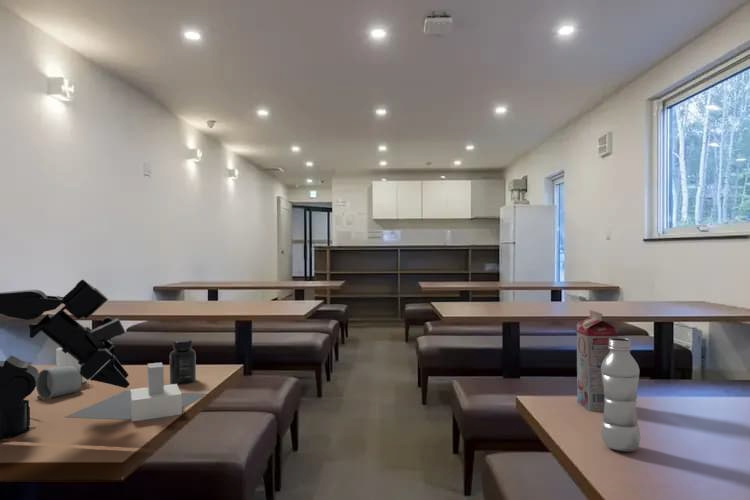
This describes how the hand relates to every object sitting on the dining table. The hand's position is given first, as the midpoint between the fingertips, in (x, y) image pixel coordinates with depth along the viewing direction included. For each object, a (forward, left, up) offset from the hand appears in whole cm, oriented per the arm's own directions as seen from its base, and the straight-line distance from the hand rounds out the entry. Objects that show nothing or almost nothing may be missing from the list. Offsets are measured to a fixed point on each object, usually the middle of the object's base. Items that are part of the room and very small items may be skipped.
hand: (127, 381), depth 112 cm
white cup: (+26, +35, -8) cm, 45 cm away
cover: (+3, -5, -8) cm, 9 cm away
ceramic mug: (+14, +30, -8) cm, 35 cm away
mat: (+8, +2, -8) cm, 12 cm away
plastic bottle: (-5, -102, -8) cm, 102 cm away
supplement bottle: (+29, +3, -8) cm, 31 cm away
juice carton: (+21, -105, -8) cm, 107 cm away
